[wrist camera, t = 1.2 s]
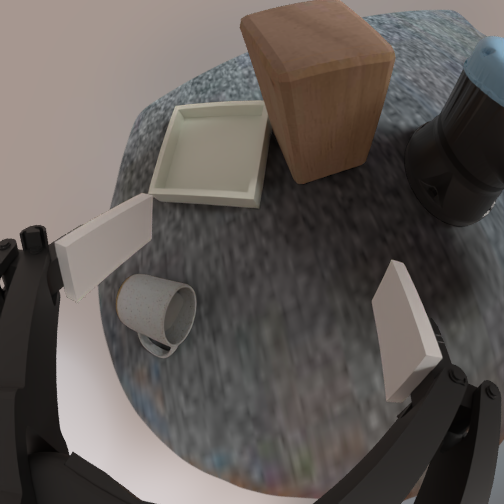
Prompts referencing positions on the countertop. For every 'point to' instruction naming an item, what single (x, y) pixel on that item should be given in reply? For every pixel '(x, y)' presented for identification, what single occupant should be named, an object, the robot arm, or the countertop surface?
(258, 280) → the countertop surface
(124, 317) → the ceramic mug
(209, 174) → the sage tray
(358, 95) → the wooden block
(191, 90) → the countertop surface
